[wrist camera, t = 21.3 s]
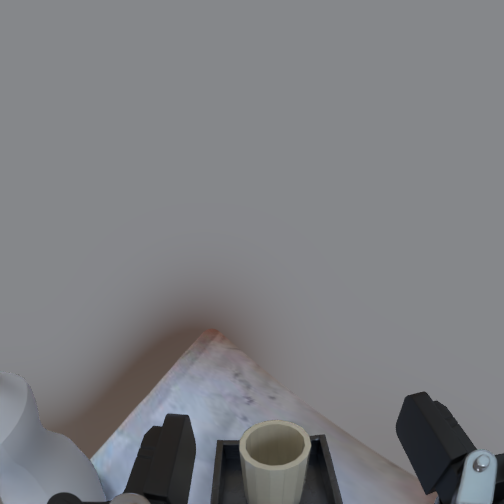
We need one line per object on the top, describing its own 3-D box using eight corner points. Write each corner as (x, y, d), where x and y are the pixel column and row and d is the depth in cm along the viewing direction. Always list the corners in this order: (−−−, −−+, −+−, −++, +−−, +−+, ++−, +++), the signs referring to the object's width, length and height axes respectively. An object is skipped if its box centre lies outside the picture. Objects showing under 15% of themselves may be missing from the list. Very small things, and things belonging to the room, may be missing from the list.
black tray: (321, 451, 33) (324, 434, 32) (340, 532, 20) (347, 520, 19) (220, 457, 33) (217, 440, 32) (213, 540, 20) (207, 529, 19)
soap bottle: (130, 578, 12) (-75, 355, 5) (38, 565, 9) (-148, 342, 2) (119, 473, 28) (37, 258, 21) (47, 470, 25) (-47, 270, 18)
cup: (298, 472, 29) (305, 417, 27) (304, 513, 23) (315, 466, 20) (245, 475, 29) (240, 421, 27) (245, 516, 23) (238, 471, 20)
